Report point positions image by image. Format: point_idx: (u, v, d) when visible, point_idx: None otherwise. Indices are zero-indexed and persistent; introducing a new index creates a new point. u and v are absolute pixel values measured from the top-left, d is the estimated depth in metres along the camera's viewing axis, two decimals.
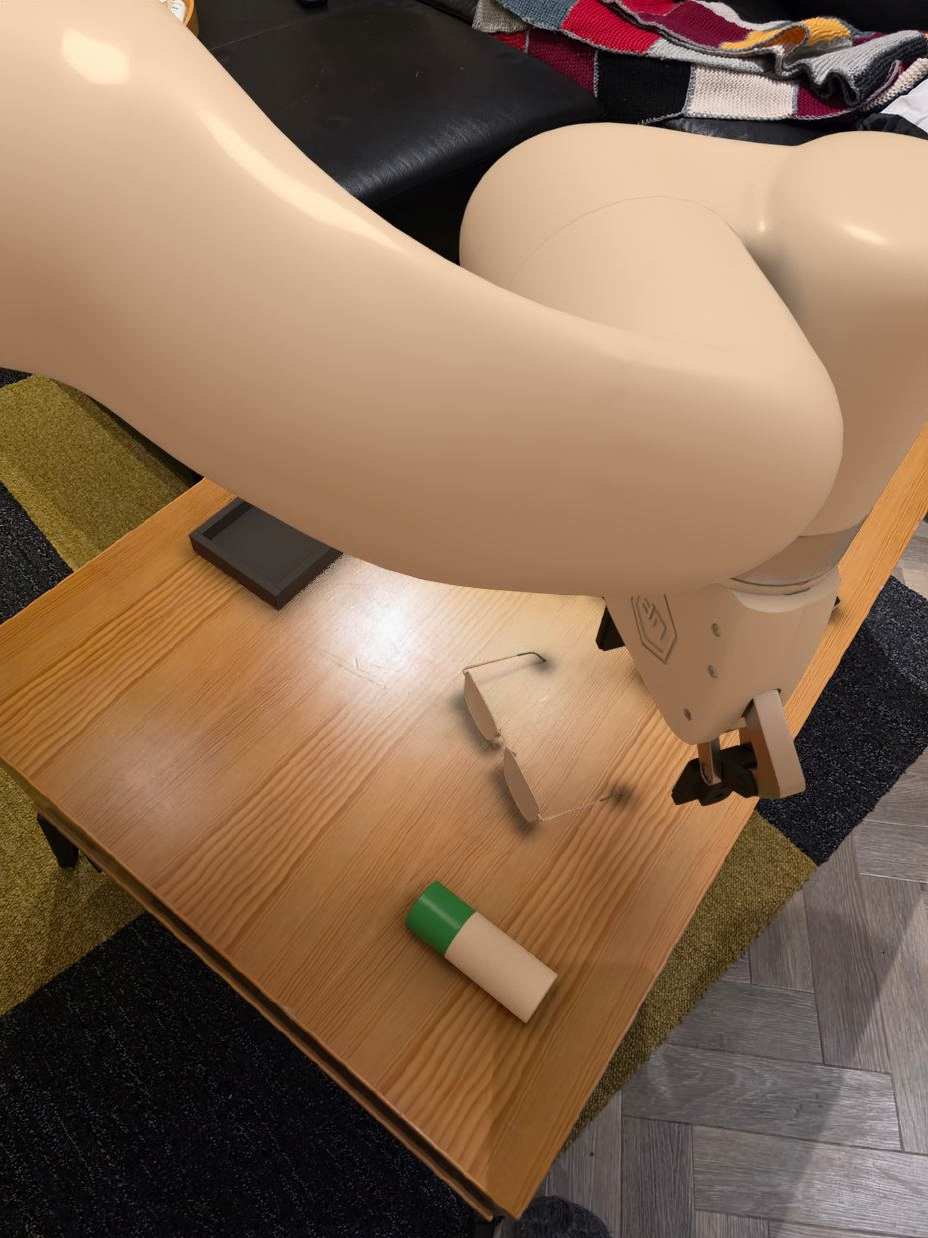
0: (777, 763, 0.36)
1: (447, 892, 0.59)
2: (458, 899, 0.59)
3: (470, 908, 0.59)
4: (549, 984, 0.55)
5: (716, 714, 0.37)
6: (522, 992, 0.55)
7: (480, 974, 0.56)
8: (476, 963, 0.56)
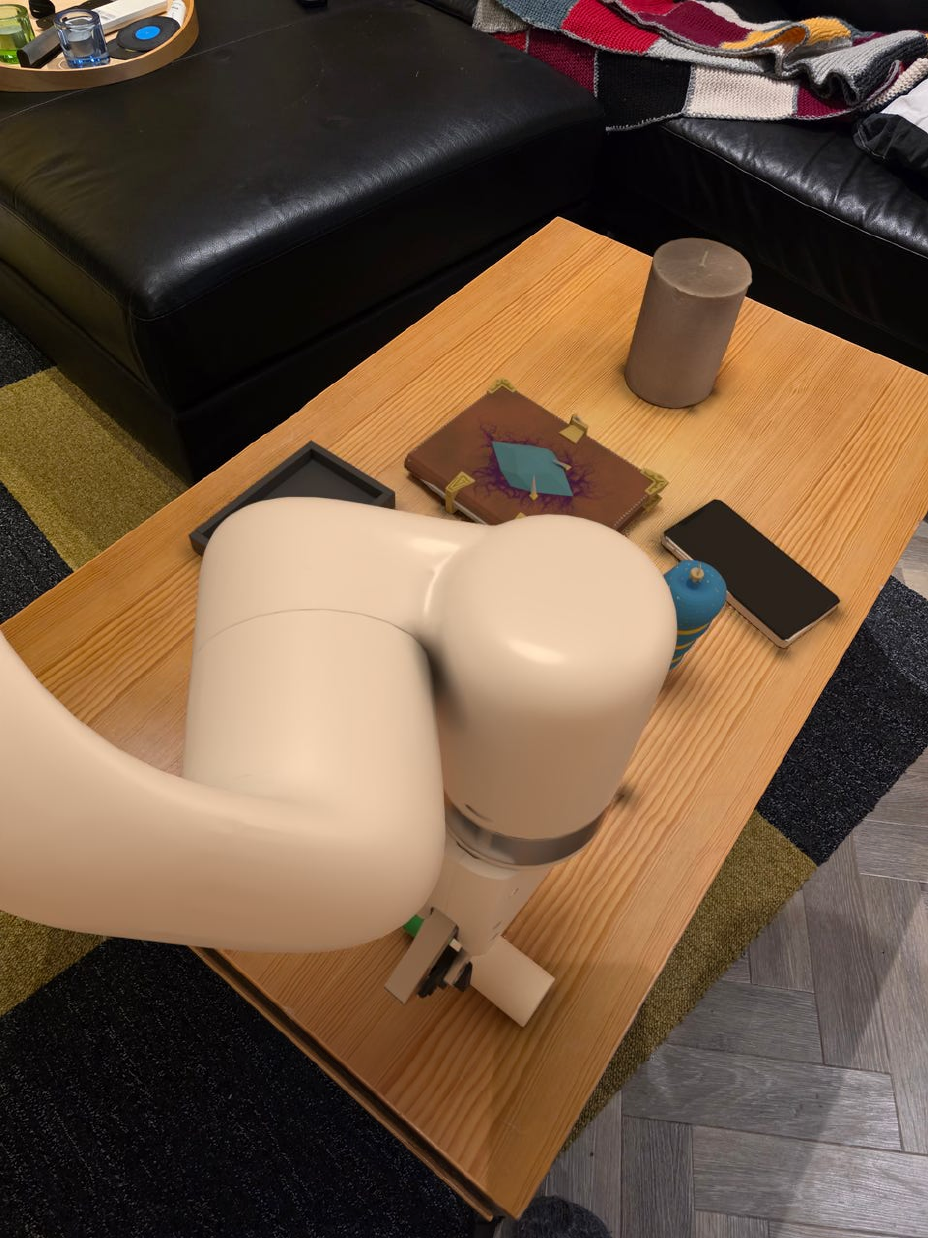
0: (403, 965, 0.39)
1: None
2: None
3: None
4: (544, 992, 0.55)
5: None
6: (517, 1000, 0.55)
7: (476, 981, 0.56)
8: None
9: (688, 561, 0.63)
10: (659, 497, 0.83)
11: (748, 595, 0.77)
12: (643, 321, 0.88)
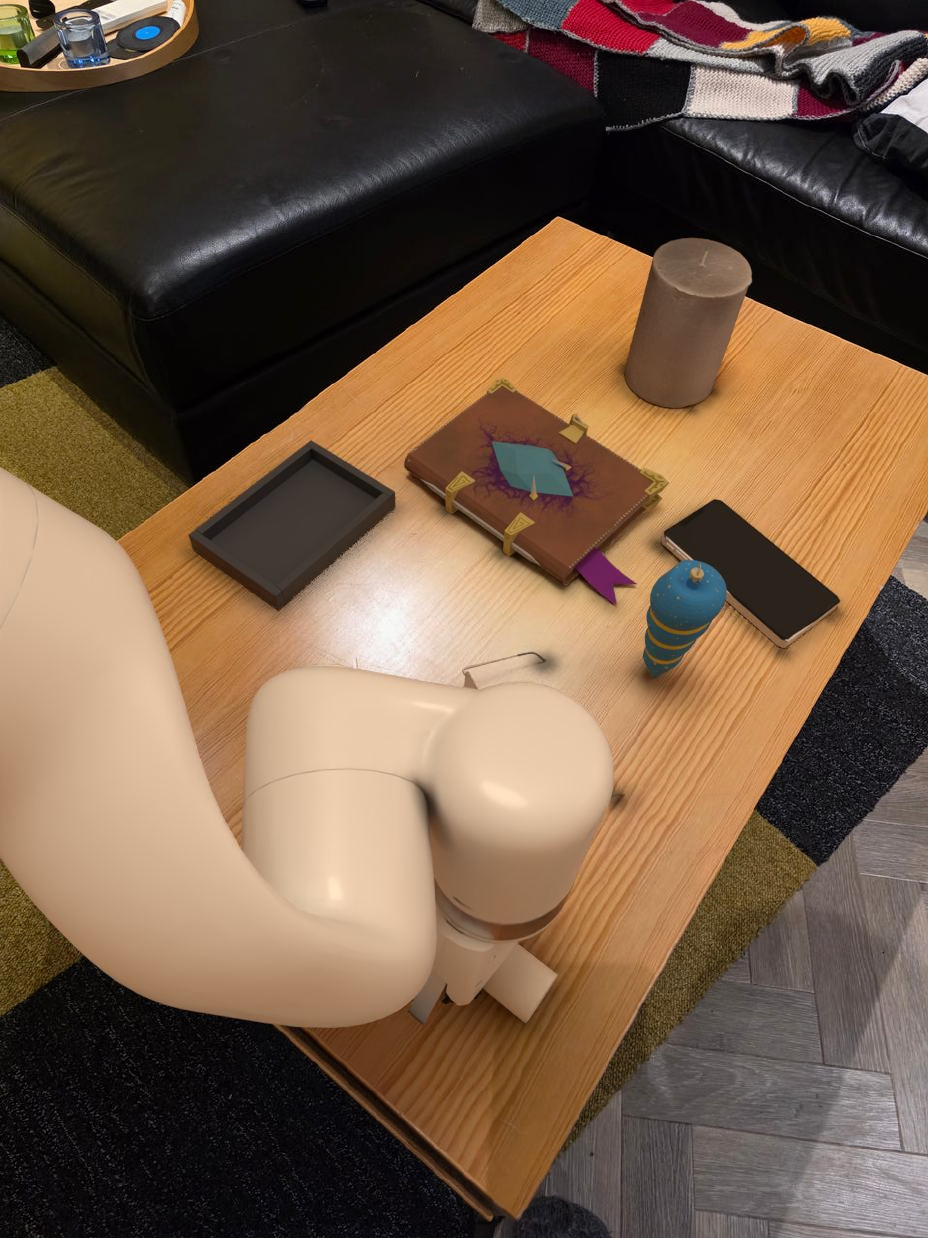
0: (416, 1002, 0.50)
1: None
2: None
3: None
4: (545, 991, 0.55)
5: None
6: (518, 999, 0.55)
7: None
8: None
9: (688, 561, 0.63)
10: (659, 497, 0.83)
11: (748, 595, 0.77)
12: (643, 321, 0.88)
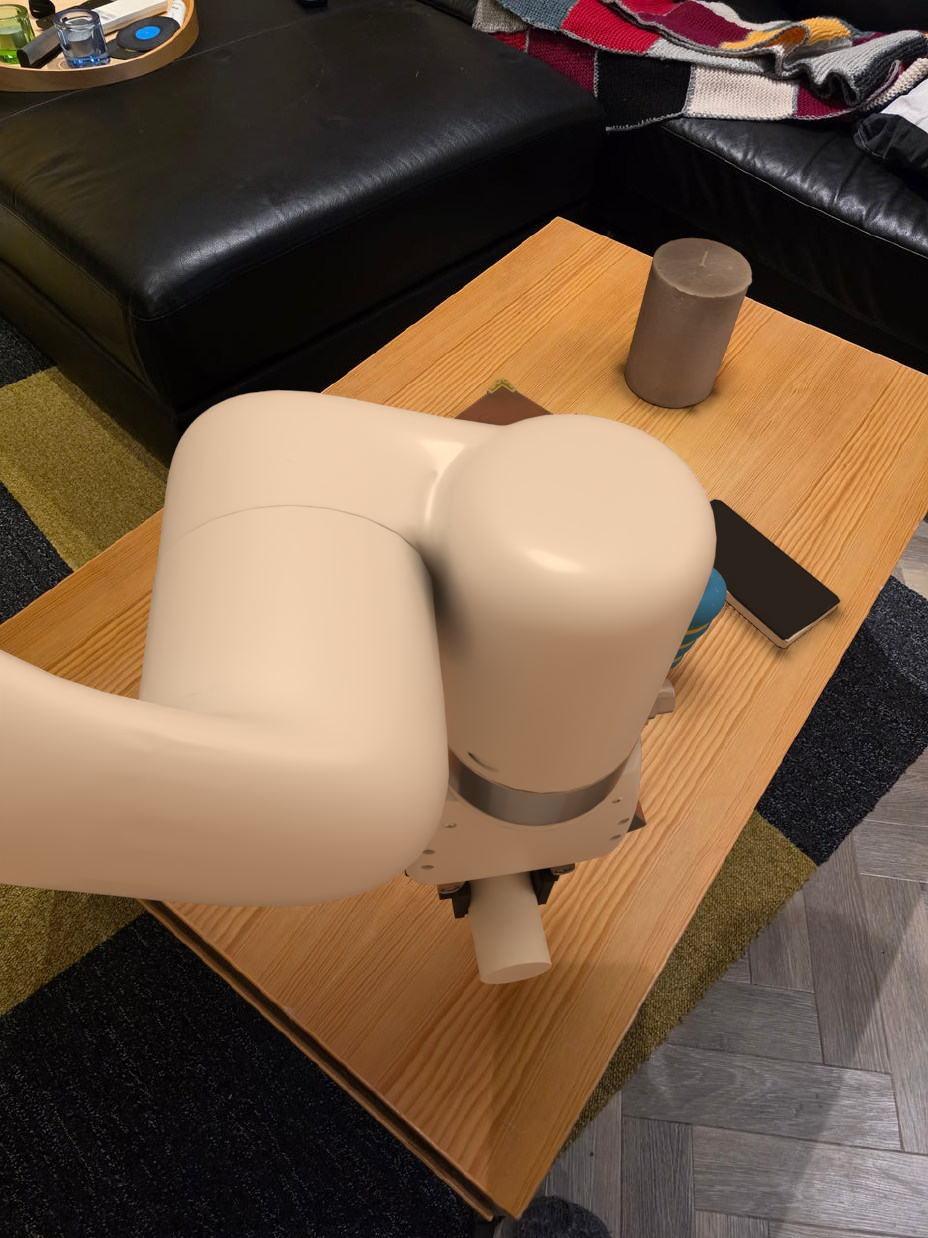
0: None
1: None
2: None
3: None
4: (521, 962, 0.42)
5: None
6: (489, 946, 0.43)
7: None
8: (471, 882, 0.45)
9: None
10: None
11: (748, 595, 0.77)
12: (643, 321, 0.88)
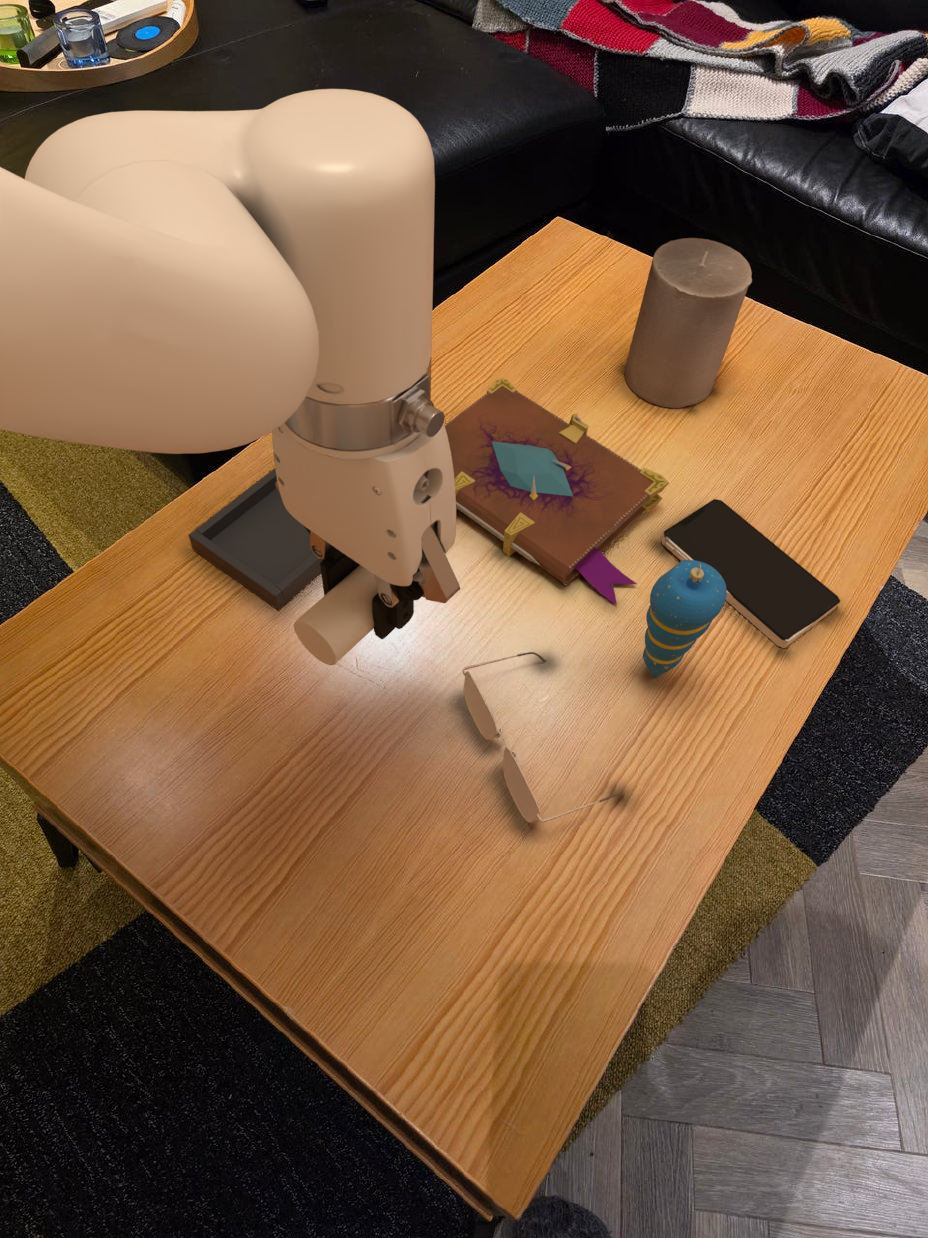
0: None
1: None
2: None
3: None
4: (313, 627, 0.53)
5: None
6: (311, 609, 0.54)
7: None
8: (345, 577, 0.56)
9: (688, 561, 0.63)
10: (659, 497, 0.83)
11: (748, 595, 0.77)
12: (643, 321, 0.88)
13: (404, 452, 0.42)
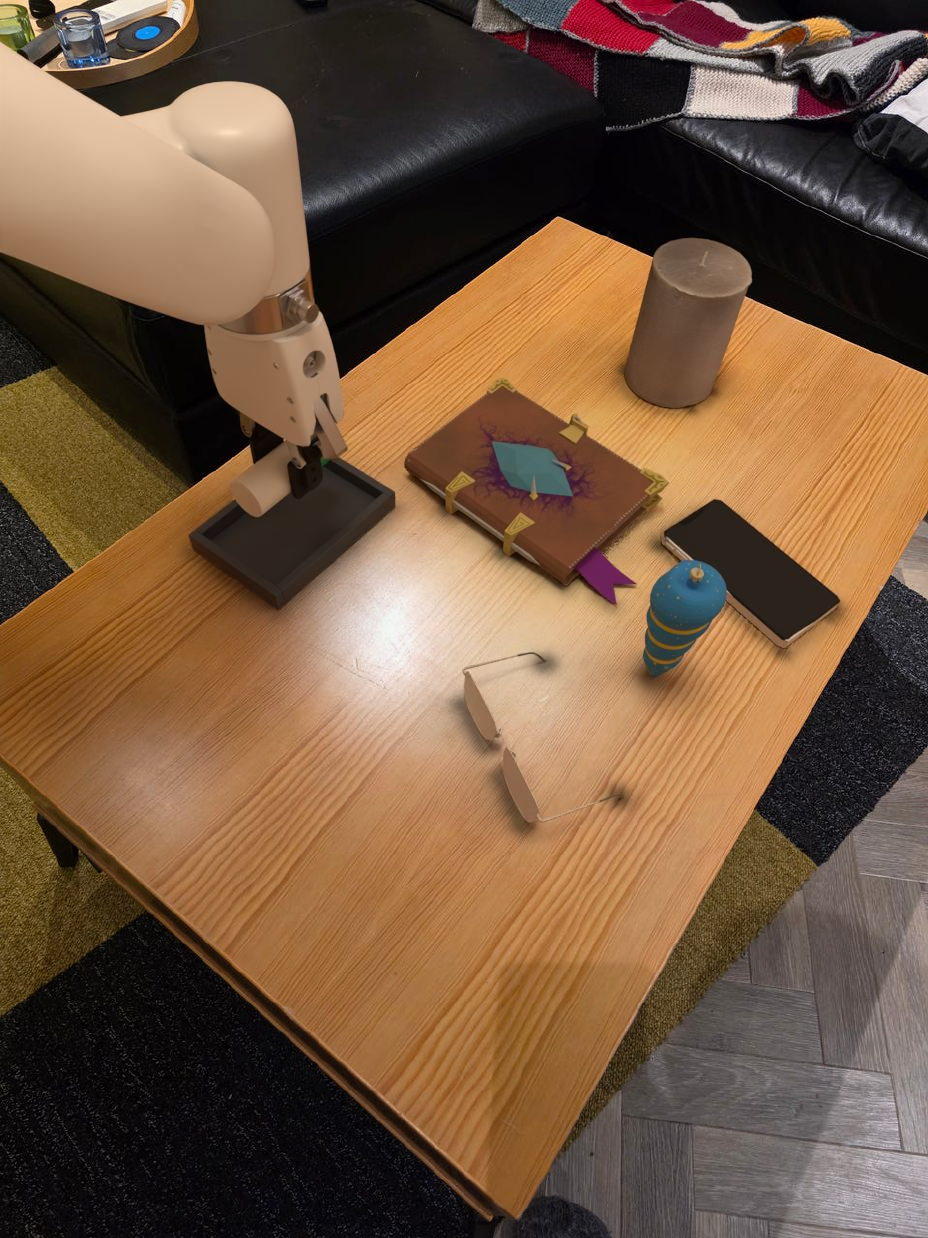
0: None
1: None
2: None
3: None
4: (243, 484, 0.71)
5: None
6: (242, 473, 0.72)
7: None
8: None
9: (688, 561, 0.63)
10: (659, 497, 0.83)
11: (748, 595, 0.77)
12: (643, 321, 0.88)
13: (293, 336, 0.60)
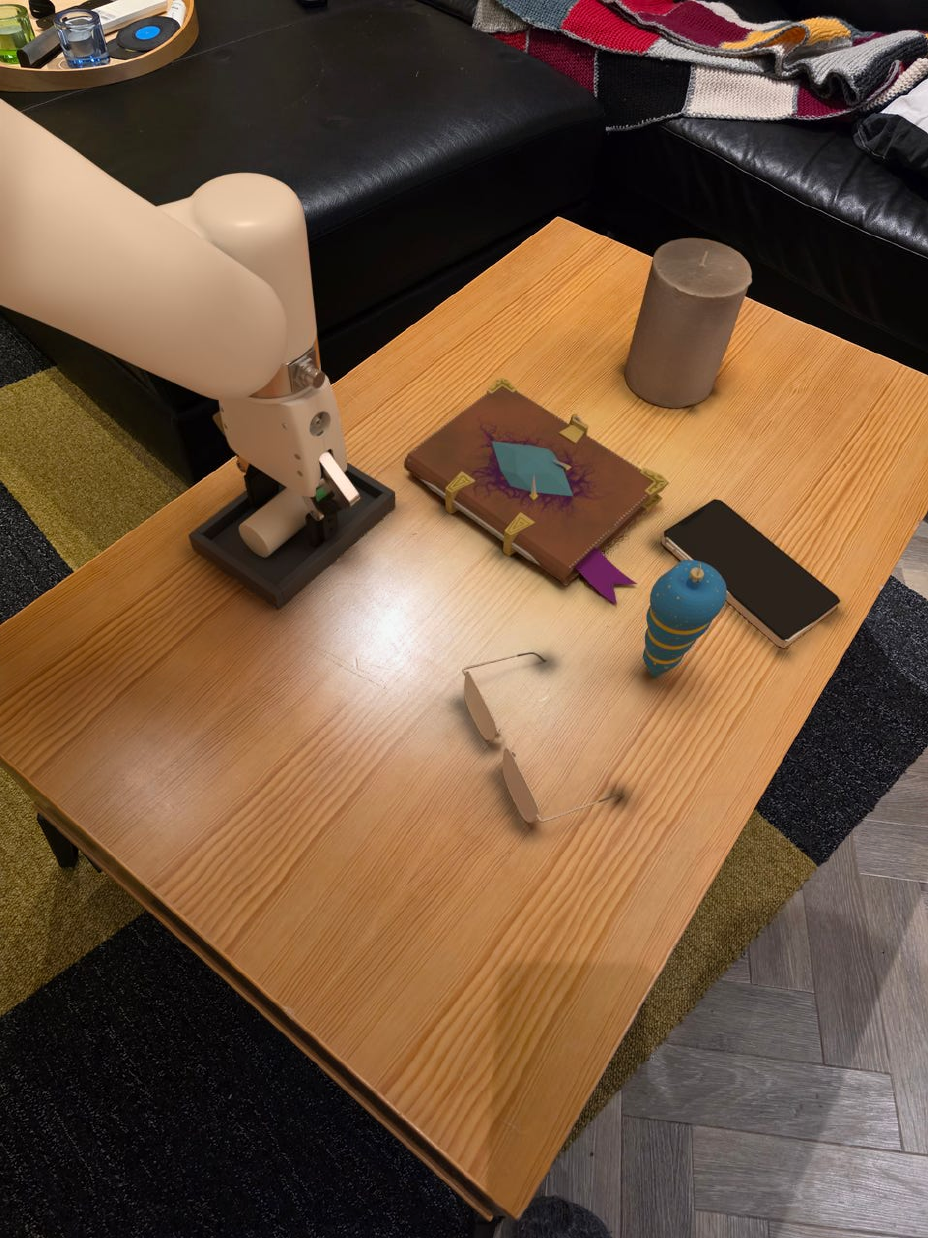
0: None
1: None
2: None
3: None
4: (250, 526, 0.75)
5: None
6: (250, 516, 0.77)
7: None
8: None
9: (688, 561, 0.63)
10: (659, 497, 0.83)
11: (748, 595, 0.77)
12: (643, 321, 0.88)
13: (301, 399, 0.64)
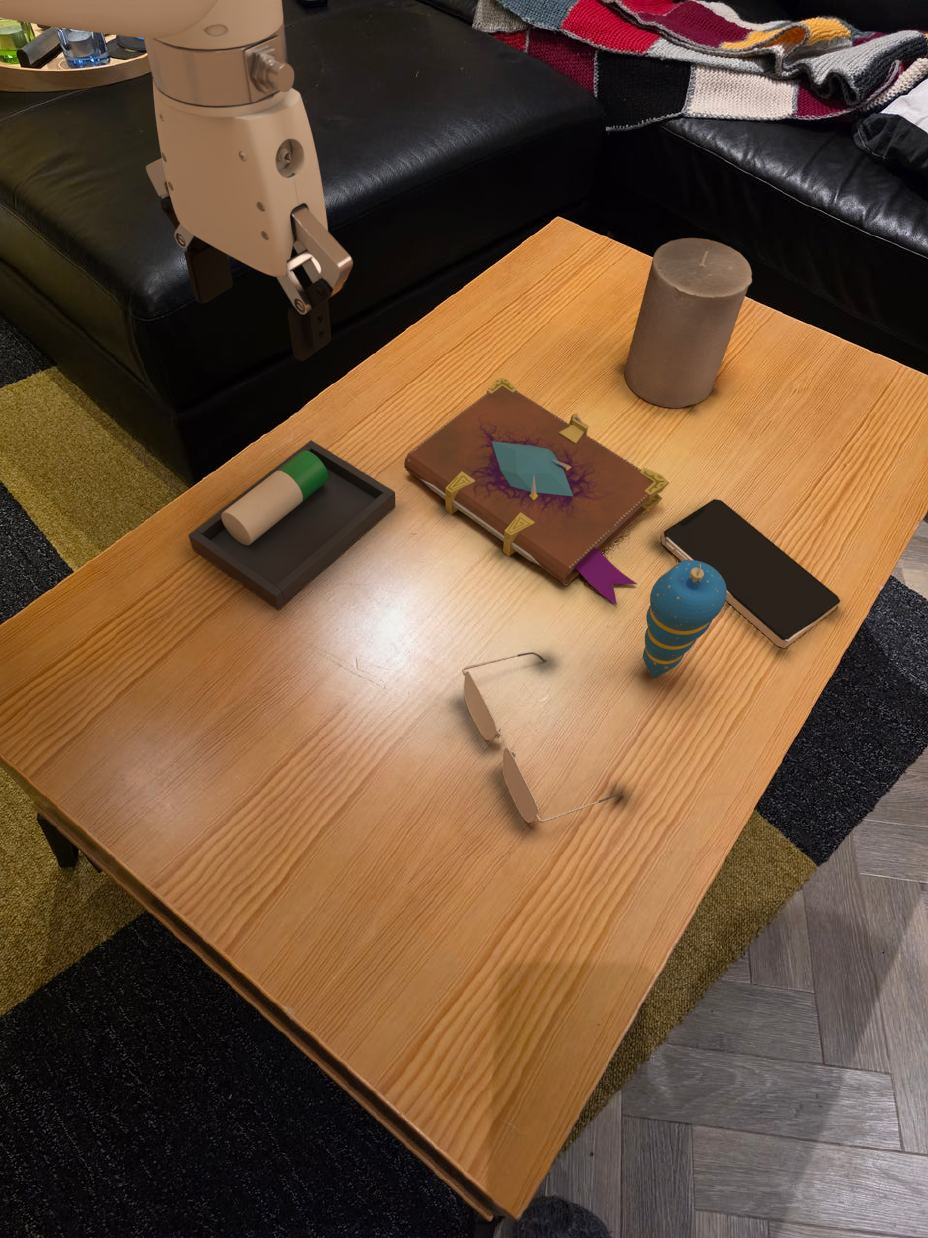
0: None
1: (294, 457, 0.81)
2: None
3: (281, 467, 0.80)
4: None
5: None
6: None
7: None
8: None
9: (688, 561, 0.63)
10: (659, 497, 0.83)
11: (748, 595, 0.77)
12: (643, 321, 0.88)
13: (263, 113, 0.48)
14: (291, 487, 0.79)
